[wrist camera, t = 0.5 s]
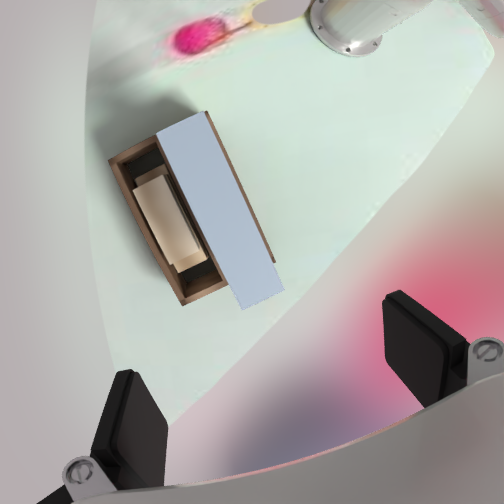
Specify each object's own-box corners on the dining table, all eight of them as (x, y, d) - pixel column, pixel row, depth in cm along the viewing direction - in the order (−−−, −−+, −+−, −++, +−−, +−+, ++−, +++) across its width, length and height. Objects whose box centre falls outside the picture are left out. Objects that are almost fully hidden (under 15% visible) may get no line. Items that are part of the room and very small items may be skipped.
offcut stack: (166, 164, 42) (158, 162, 35) (209, 252, 46) (210, 268, 39) (138, 178, 42) (125, 179, 35) (181, 265, 46) (178, 283, 39)
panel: (203, 138, 42) (203, 110, 23) (250, 240, 46) (284, 289, 27) (176, 150, 42) (155, 133, 22) (225, 252, 46) (242, 310, 27)
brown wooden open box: (206, 118, 41) (207, 110, 35) (266, 250, 47) (276, 262, 41) (119, 161, 41) (107, 160, 35) (184, 290, 46) (182, 306, 41)
